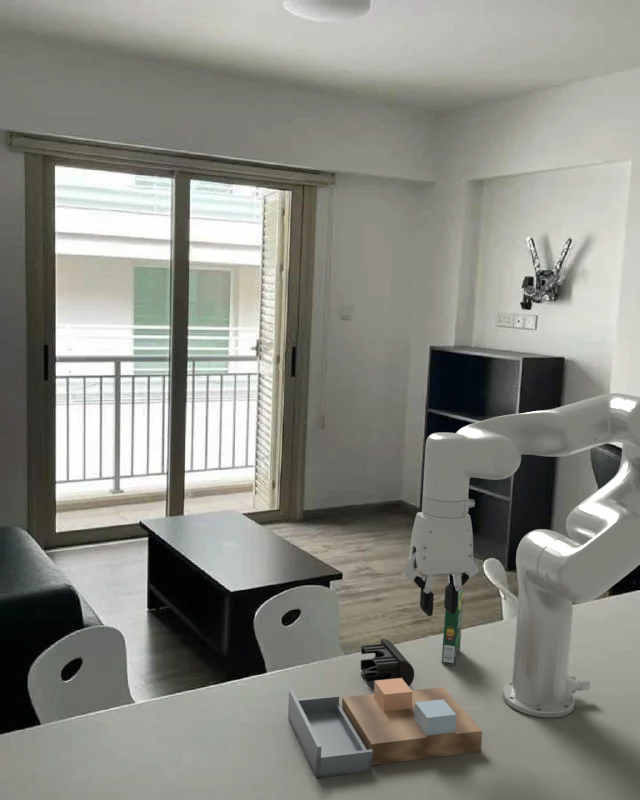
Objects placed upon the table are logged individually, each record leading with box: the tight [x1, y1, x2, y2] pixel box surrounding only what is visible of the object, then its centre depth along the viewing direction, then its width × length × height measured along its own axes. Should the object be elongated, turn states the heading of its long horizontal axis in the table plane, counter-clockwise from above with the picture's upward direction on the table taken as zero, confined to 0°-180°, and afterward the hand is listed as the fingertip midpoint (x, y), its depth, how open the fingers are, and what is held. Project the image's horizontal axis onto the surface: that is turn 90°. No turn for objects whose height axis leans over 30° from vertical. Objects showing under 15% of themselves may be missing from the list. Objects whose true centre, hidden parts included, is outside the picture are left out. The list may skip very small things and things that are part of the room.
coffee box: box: [441, 589, 465, 666], centre depth 165 cm, size 8×3×13 cm, turn 163°
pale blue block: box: [414, 700, 456, 736], centre depth 132 cm, size 5×5×3 cm
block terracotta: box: [373, 678, 413, 711], centre depth 139 cm, size 5×5×3 cm
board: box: [341, 686, 483, 766], centre depth 136 cm, size 19×15×4 cm
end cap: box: [360, 638, 415, 694], centre depth 153 cm, size 10×7×7 cm
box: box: [287, 689, 373, 779], centre depth 132 cm, size 9×18×5 cm, turn 16°
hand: (438, 611), depth 139 cm, fingers open, 3 cm apart
